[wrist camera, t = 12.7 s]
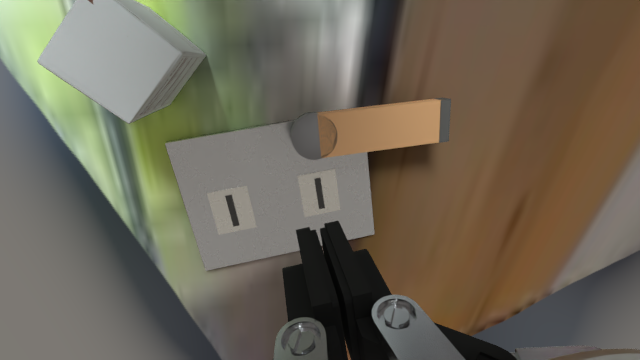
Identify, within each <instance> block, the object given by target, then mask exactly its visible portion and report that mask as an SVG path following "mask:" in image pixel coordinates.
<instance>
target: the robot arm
mask: <svg viewBox="0 0 640 360" xmlns="http://www.w3.org/2000/svg"><path fill="white" fill-rule="evenodd" d="M324 226H325V227H324V228H320V234H321V240H322V246H323V250H322V247H321V244H320V241H319V238H318V235H317V232H316V229H315V230H310V227H307V228H302V229H297V230H296V234H297V239H298V244H299V249H300V254H301V259H302V264H299V265H295V266H290V267H286V268H283V269H282V270H283V279H284V288H285V297H286V306H287V314H288V323H287V324H285V325H284V326H283V327H282V328H281V330H280V331H279V333H278V334H277V338H276V342H275V351H274V358H273V360H348V358H347V351H346V345H345V341H346V344H347V347H348V351H349V354H350V357H351V360H640V350H637V349H600V348H597V347H593V346H560V347H538V348H516V349H515V353H509V352H508V351H506V350H504V349H502V348H500V347H498V346H496V345H493V344H490V343H488V342H485V341H482V340H479V339H476V338H474V337H472V336H469V335H466V334H463V333H461V332H458V331H455V330H453V329H450V328H447V327H445V326H442V325H439V324H436V323H434V322H433V321H432V320H431V319H430V318H429V317H428V316H427V314H426V313H425V312H424V311H423V310H422V309H421V307H420V306H419V305H418V304H417V303H416V302H415V301H413V300H412V299H410V298H408V297H406V296H401V295H392V294H391V293H390V291H389V289H388V287H387V285H386V283H385V282H384V280H383V278H382V276H381V274H380V272H379V270H378V269H377V267H376V265H375V263H374V261H373V259H372V258H371V256H370V254H369V252H368V251H367V249H363V250H359V251H355V252H353V251H352V248H351V246H350V244H349V242H348V240H347V238H346V236H345V234H344V231H343V229H342V227H341V225H340V223H339V221H334V222H329V223H325V224H324ZM323 251H324V254H323ZM344 337H345V339H344Z"/></svg>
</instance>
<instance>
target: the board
mask: <svg viewBox="0 0 640 360" xmlns="http://www.w3.org/2000/svg"><path fill="white" fill-rule="evenodd" d="M295 121H296V120H291V121H285V122H279V123H273V124H268V125H262V126H256V127H250V128H244V129H238V130H232V131H227V132H221V133H215V134H209V135H203V136H197V137H191V138H186V139H180V140H174V141H168V142H166V143H165V146H166V149H167V152H168V155H169V158H170V161H171V164H172V167H173V170H174V173H175V177H176V180H177V183H178V186H179V189H180V192H181V195H182V198H183V201H184V205H185V208H186V211H187V214H188V217H189V220H190V223H191V226H192V229H193V233H194V236H195V239H196V242H197V245H198V248H199V251H200V254H201V257H202V261H203V264H204V267H205V270H206V271H207V270H212V269H217V268H221V267H226V266H230V265H235V264H240V263H244V262H249V261H253V260H258V259H263V258H267V257H272V256H277V255H281V254H286V253H290V252H295V251H300V249H299V244H298V239H297V234H296V230H297V229H302V228H307V227H310V230H315V229H316V232H317V235H318V238H319V241H320V244H321V246H322V240H321V234H320V228H324V227H325V226H324V224H325V223H329V222H334V221H339V223H340V225H341V227H342V229H343V231H344V234H345V236H346V238H347V240H350V239H355V238H360V237H364V236H369V235H374V223H373V212H372V201H371V190H370V178H369V167H368V156H367V152H364V153H356V154H349V155H342V156H334V157H327V158H322V159H318V160H310V159H306V158H304V157H302V156H301V155H299V154H298V153H297V151H296V150H295V148H294V146H293V144H292V141H291V128H292V126H293V124H294V122H295Z"/></svg>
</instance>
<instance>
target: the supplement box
mask: <svg viewBox="0 0 640 360" xmlns="http://www.w3.org/2000/svg"><path fill="white" fill-rule="evenodd" d="M205 56H206V54H205V53H204V52H203V51H202V50H201V49H199V48H198V47H197V46H196V45H195V44H194V43H192V42H191V41H190V40H189V39H187V38H186V37H185V36H184V35H183V34H182V33H180V32H179V31H178V30H177V29H175V28H174V27H173V26H172V25H170V24H169V23H168V22H167V21H166V20H164V19H163V18H162V17H161V16H159V15H158V14H157V13H156V12H154V11H153V10H152V9H151V8H149V7H147V6H145V5H143V4H141V3H139V2H137V1H135V0H76V1H75V2H74V4H73V5H72V7H71V9H70V10H69V12H68V13H67V15H66V16H65V18H64V19H63V21H62V23H61V24H60V26H59V27H58V29H57V30H56V32H55V33H54V35H53V37H52V38H51V40H50V41H49V43H48V44H47V46H46V48H45V49H44V51H43V52H42V54H41V55H40V57H39V59H38V61H37V62H38V63H39V64H40V65H42V66H43V67H45V68H46V69H47V70H49V71H50V72H52V73H53V74H55V75H56V76H58V77H59V78H61V79H62V80H64V81H65V82H67V83H68V84H70V85H71V86H73V87H74V88H76V89H77V90H79V91H80V92H82V93H83V94H85V95H86V96H88V97H89V98H91V99H92V100H94V101H95V102H97V103H98V104H100V105H101V106H103V107H104V108H106V109H107V110H109V111H110V112H112V113H113V114H115V115H116V116H118V117H119V118H121V119H122V120H124V121H125V122H127V123H129V124H130V123H132V122H134V121H136V120H138V119H141V118H143V117H145V116H147V115H149V114H151V113H153V112H155V111H158V110H160V109H162V108H164V107H167V106H169V105H170V104H171V103H172V101H173V100H174V99H175V97H176V96H177V95H178V93H179V92H180V90H181V89H182V88H183V86H184V85H185V84H186V82H187V81H188V80H189V78H190V77H191V76H192V74H193V73H194V71H195V70H196V69H197V67H198V66H199V65H200V63H201V62H202V60H203V59H204V58H205Z"/></svg>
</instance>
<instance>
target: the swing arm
mask: <svg viewBox="0 0 640 360" xmlns="http://www.w3.org/2000/svg"><path fill="white" fill-rule="evenodd" d="M450 107H451V99H448V98H435V99H428V100H419V101H411V102H402V103H394V104H385V105H376V106H368V107H359V108H351V109H342V110H333V111H325V112H309V113H306V114H303V115H301V116H300V117H299V118H298V119H297V120H296V121H295V122H294V124H293V126H292V128H291V141H292V144H293V146H294V148H295V150H296V151H297V153H298V154H299V155H301V156H302V157H304V158H306V159H310V160H318V159H322V158H327V157H334V156H342V155H349V154H356V153H364V152H371V151H379V150H386V149H393V148H401V147H408V146H416V145H423V144H430V143H438V142H439V143H440V142H447V141H449V126H450Z"/></svg>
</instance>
